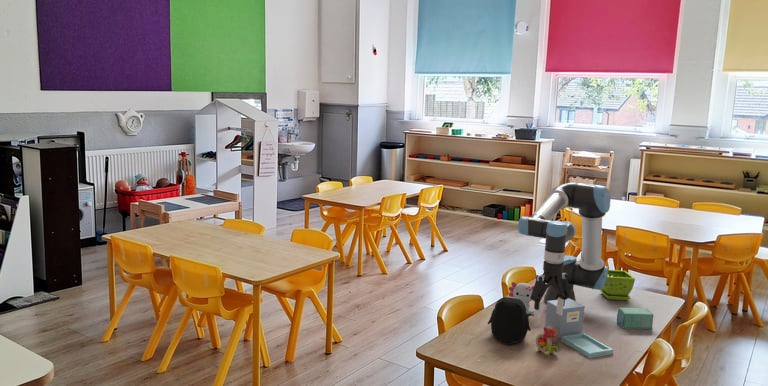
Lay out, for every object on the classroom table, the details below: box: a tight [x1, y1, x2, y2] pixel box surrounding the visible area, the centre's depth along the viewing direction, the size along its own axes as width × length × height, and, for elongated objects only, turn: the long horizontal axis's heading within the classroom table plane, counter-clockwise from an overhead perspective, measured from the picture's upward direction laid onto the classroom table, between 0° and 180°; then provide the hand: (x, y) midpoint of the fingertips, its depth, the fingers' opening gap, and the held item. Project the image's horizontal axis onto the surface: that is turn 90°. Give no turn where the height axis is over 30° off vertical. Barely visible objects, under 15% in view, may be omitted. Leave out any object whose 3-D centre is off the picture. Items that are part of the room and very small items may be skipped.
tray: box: [560, 332, 614, 359], centre depth 255 cm, size 17×12×2 cm
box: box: [616, 307, 654, 330], centre depth 280 cm, size 7×14×8 cm, turn 91°
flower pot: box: [599, 269, 636, 301], centre depth 317 cm, size 14×14×13 cm
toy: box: [508, 281, 535, 315], centre depth 287 cm, size 14×8×15 cm, turn 68°
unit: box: [544, 298, 586, 339], centre depth 268 cm, size 11×12×13 cm
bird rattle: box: [535, 326, 559, 357], centre depth 247 cm, size 6×11×9 cm
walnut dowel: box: [546, 326, 558, 346], centre depth 258 cm, size 5×5×6 cm
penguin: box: [487, 296, 532, 345], centre depth 259 cm, size 18×18×17 cm
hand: (548, 315), depth 245 cm, fingers open, 10 cm apart
